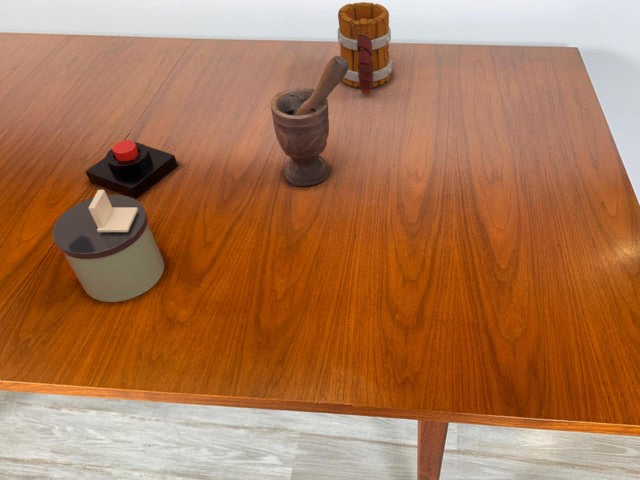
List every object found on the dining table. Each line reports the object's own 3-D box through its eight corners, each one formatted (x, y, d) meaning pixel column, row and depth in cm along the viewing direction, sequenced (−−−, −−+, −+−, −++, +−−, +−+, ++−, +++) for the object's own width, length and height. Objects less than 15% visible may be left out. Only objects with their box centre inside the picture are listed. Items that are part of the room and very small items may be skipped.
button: (111, 158, 93) (107, 149, 92) (127, 147, 96) (123, 138, 94) (127, 164, 92) (124, 155, 91) (143, 152, 94) (140, 143, 93)
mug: (390, 62, 122) (390, -13, 111) (394, 102, 111) (395, 23, 100) (339, 63, 122) (334, -12, 111) (338, 104, 111) (332, 25, 100)
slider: (97, 232, 73) (86, 210, 70) (109, 209, 76) (99, 187, 73) (128, 232, 73) (118, 210, 70) (138, 209, 76) (129, 187, 73)
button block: (90, 182, 95) (80, 161, 92) (133, 150, 101) (125, 130, 98) (136, 199, 92) (127, 179, 89) (178, 165, 98) (171, 145, 95)
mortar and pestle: (342, 150, 101) (334, 36, 86) (358, 179, 95) (352, 62, 80) (277, 165, 98) (257, 49, 83) (289, 195, 92) (270, 76, 78)
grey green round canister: (68, 303, 77) (37, 253, 71) (97, 244, 85) (72, 194, 78) (153, 303, 77) (130, 253, 70) (174, 244, 85) (156, 194, 78)
